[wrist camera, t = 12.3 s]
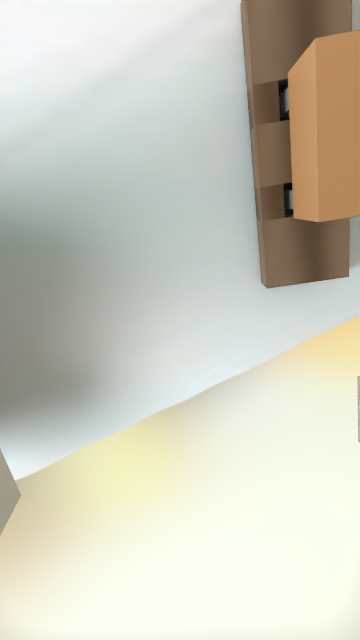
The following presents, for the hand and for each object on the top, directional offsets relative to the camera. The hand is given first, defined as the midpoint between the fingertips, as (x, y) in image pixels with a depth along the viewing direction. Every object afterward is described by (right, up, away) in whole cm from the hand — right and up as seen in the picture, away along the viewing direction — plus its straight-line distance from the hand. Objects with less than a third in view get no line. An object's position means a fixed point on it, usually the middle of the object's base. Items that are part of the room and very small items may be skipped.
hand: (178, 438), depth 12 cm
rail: (+11, +20, +20) cm, 30 cm away
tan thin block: (+11, +20, +20) cm, 30 cm away
